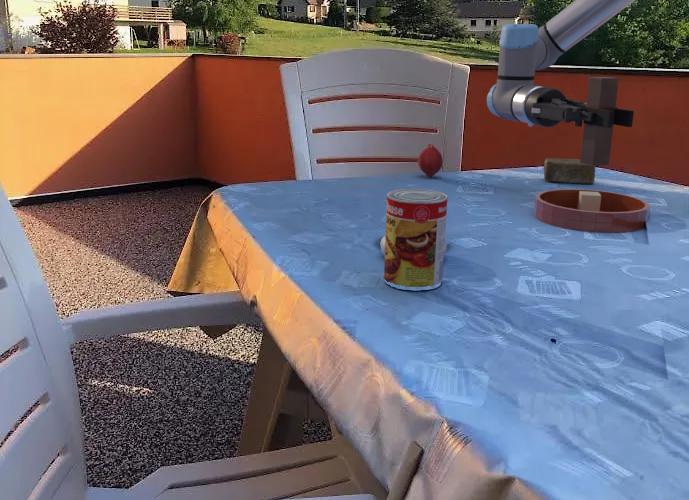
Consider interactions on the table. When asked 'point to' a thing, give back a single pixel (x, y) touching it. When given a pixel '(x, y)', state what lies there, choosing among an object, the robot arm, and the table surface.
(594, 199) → the block
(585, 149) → the stick
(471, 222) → the table surface
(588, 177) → the stone block
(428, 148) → the onion
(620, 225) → the bowl
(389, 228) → the canned food
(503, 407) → the table surface
